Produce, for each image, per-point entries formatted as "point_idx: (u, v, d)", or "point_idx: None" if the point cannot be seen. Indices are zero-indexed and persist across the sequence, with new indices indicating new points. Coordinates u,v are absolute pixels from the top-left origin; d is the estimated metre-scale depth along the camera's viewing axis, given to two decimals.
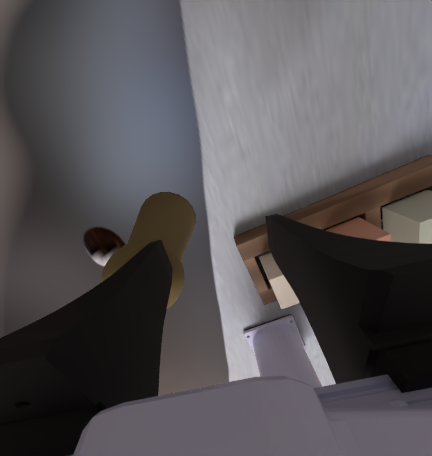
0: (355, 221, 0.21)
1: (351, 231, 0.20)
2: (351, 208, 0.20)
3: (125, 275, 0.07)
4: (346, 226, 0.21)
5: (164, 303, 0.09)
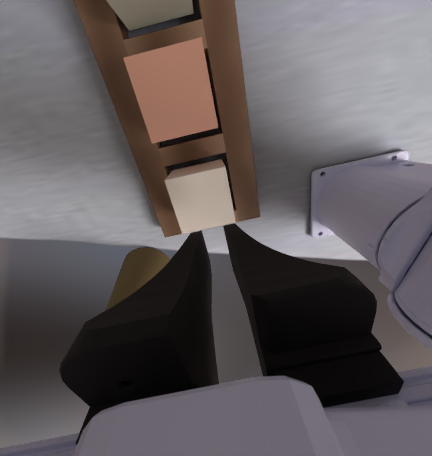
0: None
1: None
2: (125, 93, 0.14)
3: (184, 262, 0.07)
4: None
5: (209, 293, 0.09)
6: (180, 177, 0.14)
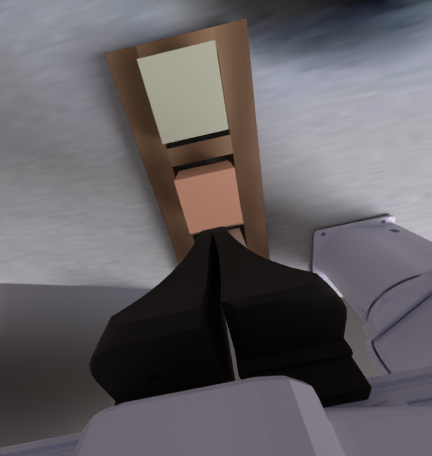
0: None
1: None
2: (164, 184, 0.18)
3: (200, 258, 0.07)
4: None
5: None
6: None
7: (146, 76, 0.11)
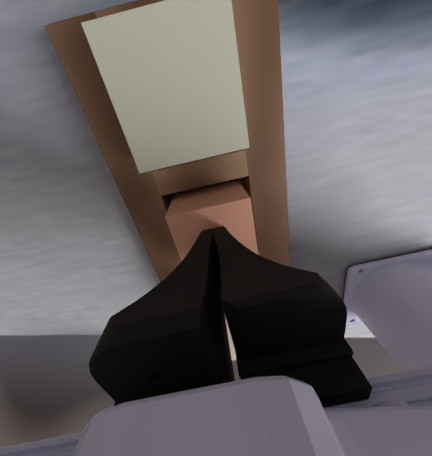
0: None
1: None
2: (151, 219, 0.13)
3: (200, 258, 0.07)
4: None
5: None
6: None
7: (102, 56, 0.06)
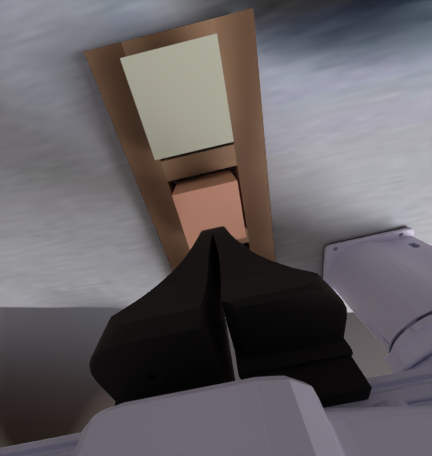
0: None
1: None
2: (159, 201, 0.16)
3: (200, 258, 0.07)
4: None
5: None
6: None
7: (132, 79, 0.09)
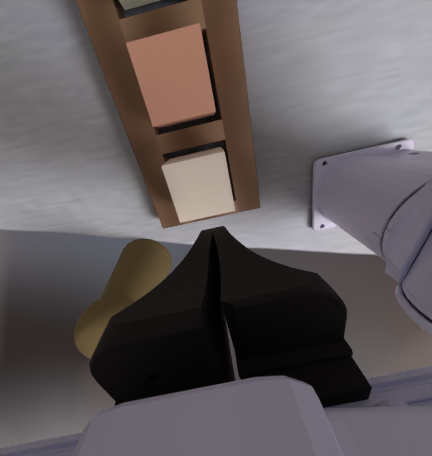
0: None
1: None
2: (121, 76, 0.14)
3: (200, 258, 0.07)
4: None
5: None
6: (177, 162, 0.14)
7: None
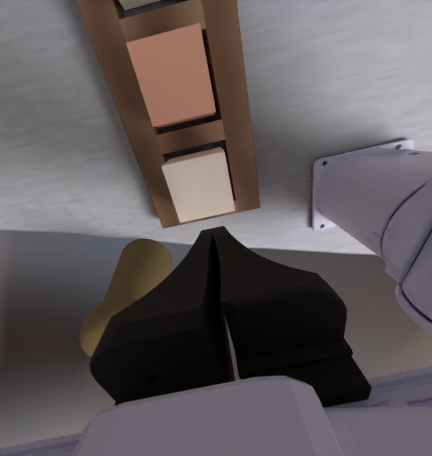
0: None
1: None
2: (121, 76, 0.14)
3: (200, 258, 0.07)
4: None
5: None
6: (177, 162, 0.14)
7: None
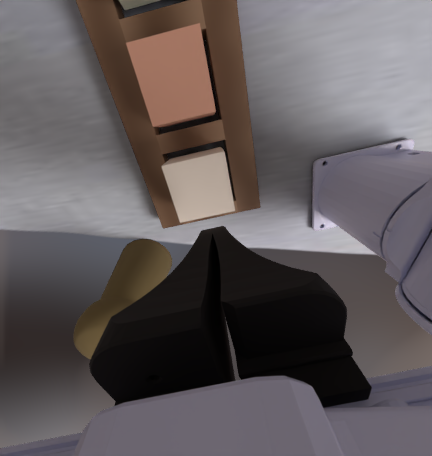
0: None
1: None
2: (121, 76, 0.14)
3: (200, 258, 0.07)
4: None
5: None
6: (177, 162, 0.14)
7: None
